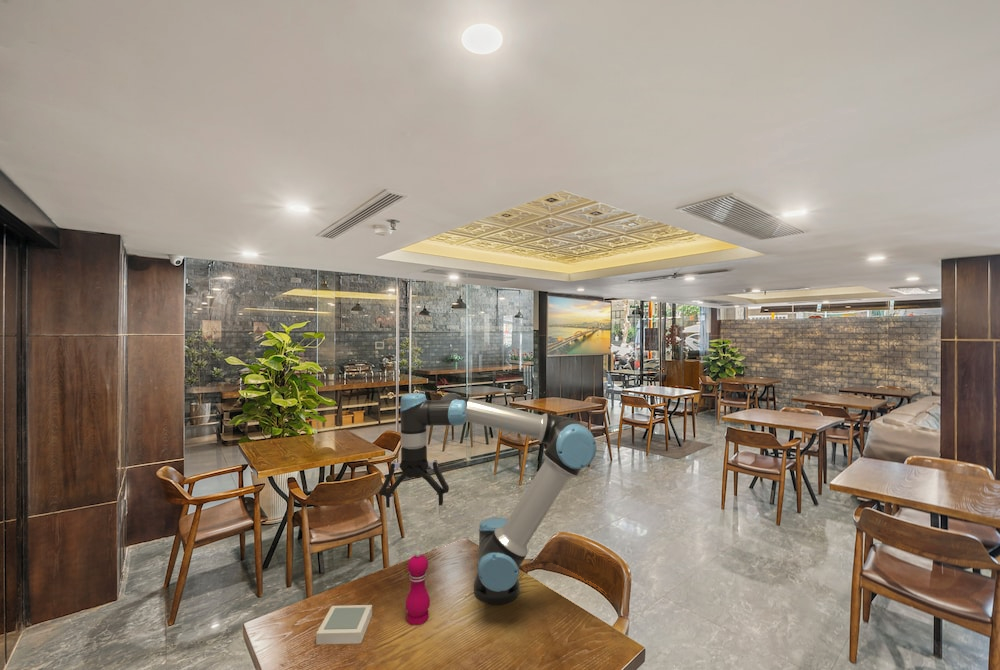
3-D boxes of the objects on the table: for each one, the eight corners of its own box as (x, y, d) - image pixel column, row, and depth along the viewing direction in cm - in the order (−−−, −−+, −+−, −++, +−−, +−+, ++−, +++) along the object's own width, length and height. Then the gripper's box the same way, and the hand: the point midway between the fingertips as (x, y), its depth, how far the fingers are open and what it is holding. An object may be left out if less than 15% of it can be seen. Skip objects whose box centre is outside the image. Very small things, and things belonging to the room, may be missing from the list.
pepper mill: (424, 628, 123) (424, 558, 123) (401, 624, 125) (401, 555, 125) (433, 612, 130) (433, 546, 130) (411, 609, 132) (411, 544, 132)
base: (372, 614, 129) (372, 604, 129) (360, 643, 117) (360, 631, 117) (331, 615, 128) (331, 604, 128) (316, 644, 116) (316, 632, 116)
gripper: (456, 441, 132) (457, 510, 132) (374, 444, 131) (375, 513, 131) (455, 447, 125) (456, 520, 125) (368, 450, 123) (369, 524, 123)
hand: (415, 517), depth 128 cm, fingers open, 13 cm apart
